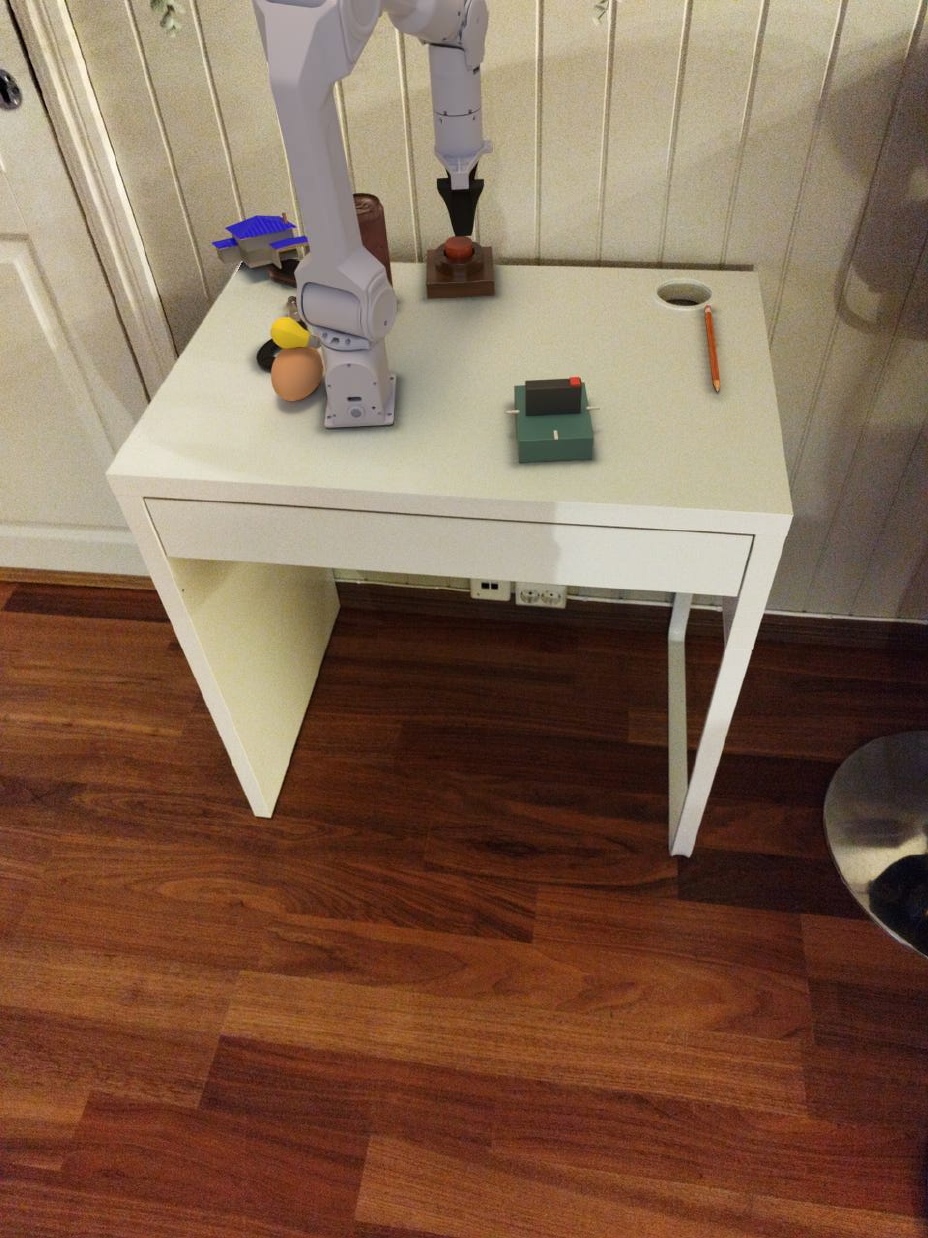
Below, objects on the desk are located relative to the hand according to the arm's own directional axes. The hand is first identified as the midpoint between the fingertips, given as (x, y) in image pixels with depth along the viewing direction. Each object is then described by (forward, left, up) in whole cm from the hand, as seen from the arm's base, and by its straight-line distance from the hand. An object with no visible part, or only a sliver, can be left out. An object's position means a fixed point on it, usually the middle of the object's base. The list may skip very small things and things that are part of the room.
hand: (463, 219), depth 119 cm
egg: (-17, +19, -6) cm, 27 cm away
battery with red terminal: (-32, -9, -6) cm, 33 cm away
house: (+9, +28, -9) cm, 30 cm away
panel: (-32, -9, -10) cm, 34 cm away
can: (-3, +13, -10) cm, 16 cm away
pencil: (-17, -30, -10) cm, 36 cm away
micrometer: (-10, +24, -8) cm, 27 cm away
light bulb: (-22, +20, -4) cm, 30 cm away
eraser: (+4, +22, -7) cm, 24 cm away
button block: (+2, +1, -10) cm, 10 cm away
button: (+2, +1, -6) cm, 6 cm away
